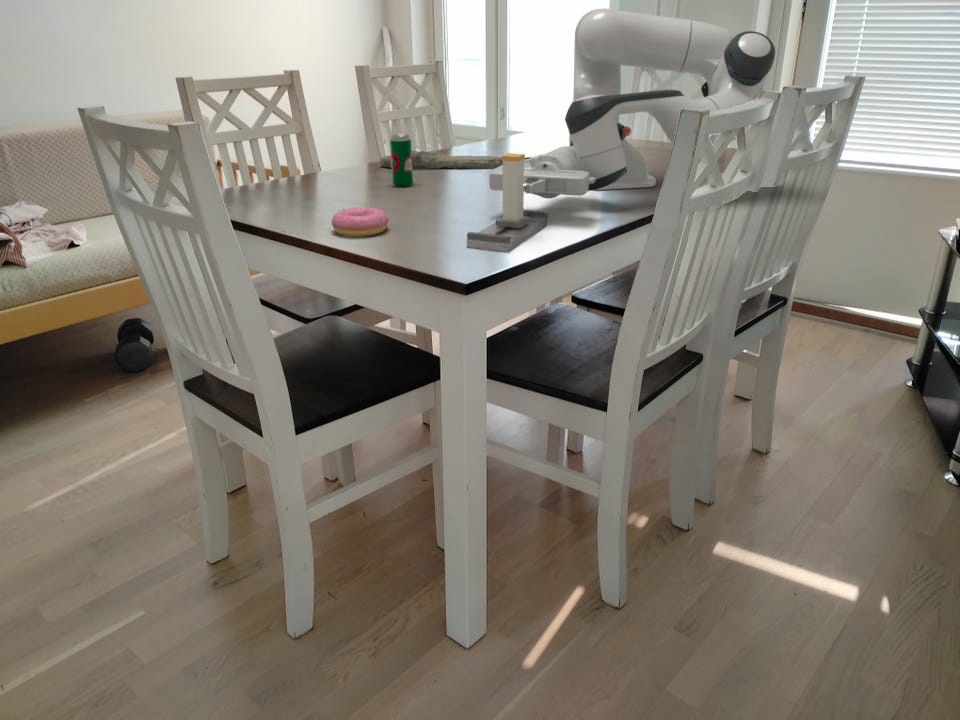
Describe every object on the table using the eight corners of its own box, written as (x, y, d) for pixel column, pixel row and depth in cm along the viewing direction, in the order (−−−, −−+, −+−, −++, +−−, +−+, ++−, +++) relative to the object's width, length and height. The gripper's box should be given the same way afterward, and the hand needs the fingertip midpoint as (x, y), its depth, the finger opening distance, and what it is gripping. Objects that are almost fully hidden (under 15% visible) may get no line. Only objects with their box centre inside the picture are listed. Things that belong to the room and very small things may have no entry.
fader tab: (506, 219, 142) (506, 152, 137) (529, 222, 140) (531, 153, 135) (495, 225, 138) (495, 156, 133) (520, 228, 136) (520, 158, 131)
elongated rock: (504, 176, 199) (505, 171, 208) (505, 156, 197) (506, 152, 206) (376, 169, 200) (383, 164, 209) (376, 149, 198) (383, 145, 207)
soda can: (410, 188, 179) (407, 137, 174) (390, 187, 180) (387, 136, 175) (415, 183, 183) (413, 134, 178) (396, 183, 184) (393, 133, 179)
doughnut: (326, 228, 146) (324, 208, 144) (379, 222, 150) (377, 202, 148) (341, 242, 137) (338, 220, 135) (396, 234, 141) (395, 213, 139)
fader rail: (510, 221, 148) (510, 209, 147) (547, 225, 145) (547, 212, 144) (466, 247, 132) (466, 233, 131) (507, 252, 129) (507, 238, 128)
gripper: (597, 194, 149) (576, 209, 138) (505, 188, 157) (478, 201, 146) (599, 162, 146) (577, 175, 135) (505, 158, 154) (477, 169, 143)
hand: (525, 188), depth 140 cm, fingers closed
